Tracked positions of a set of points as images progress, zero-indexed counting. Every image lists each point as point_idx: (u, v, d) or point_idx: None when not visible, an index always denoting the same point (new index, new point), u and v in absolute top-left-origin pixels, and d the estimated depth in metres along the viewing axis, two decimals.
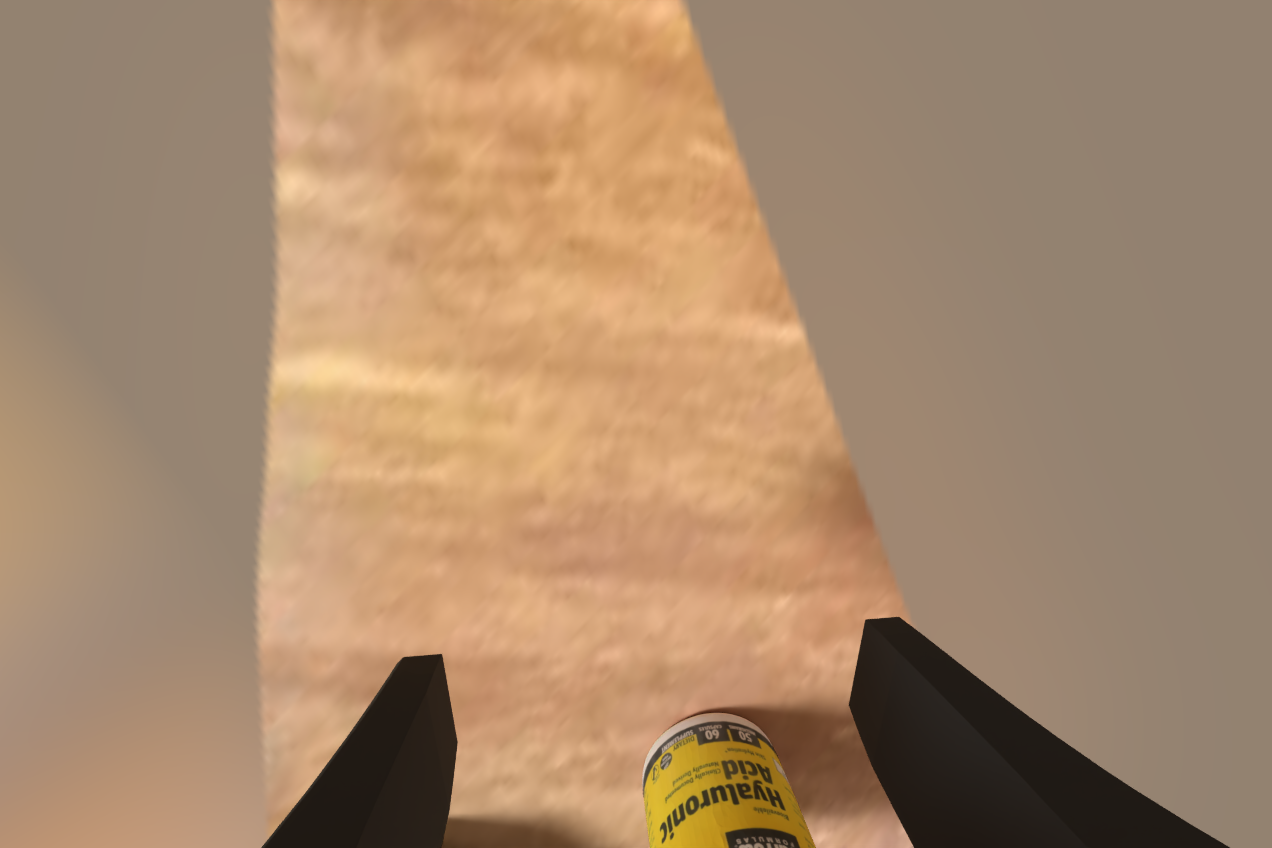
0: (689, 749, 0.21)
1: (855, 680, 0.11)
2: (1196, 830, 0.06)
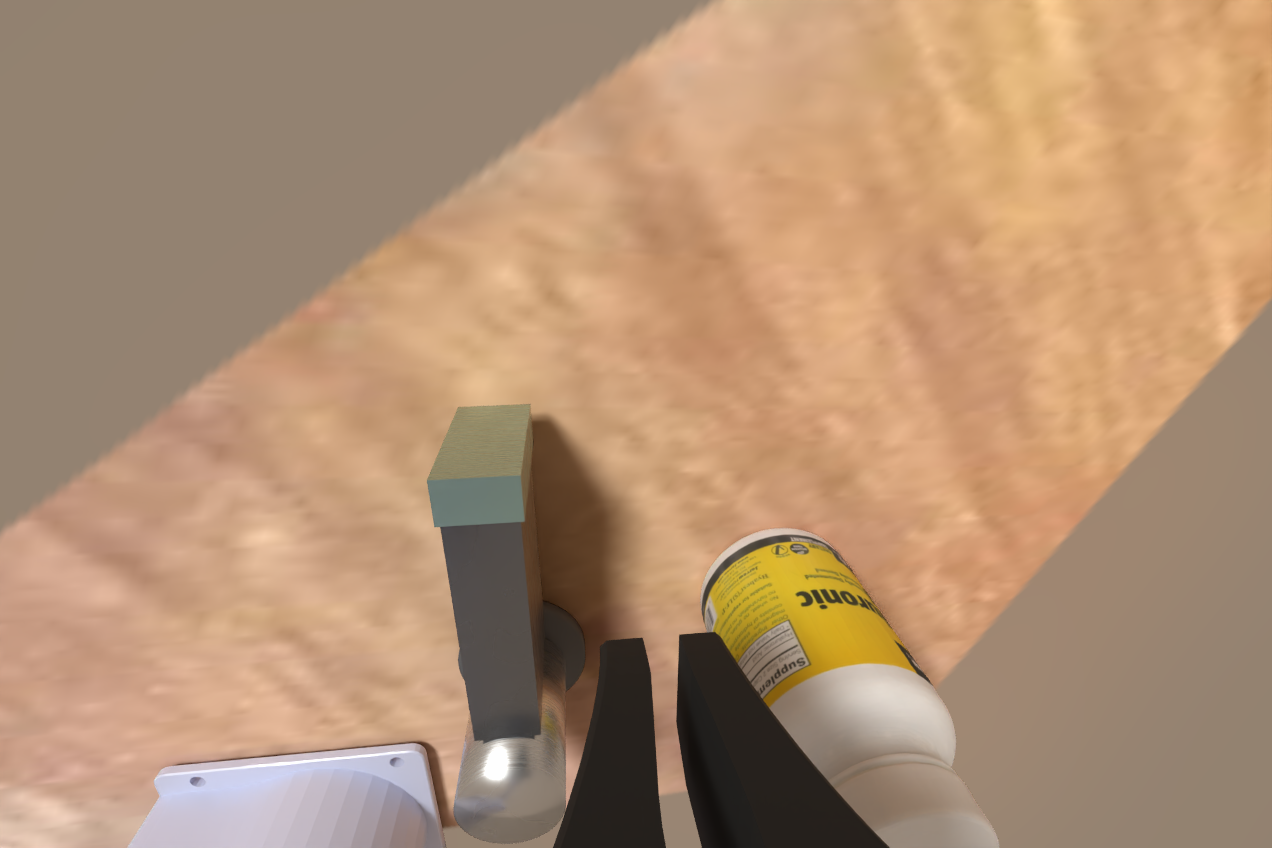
0: (829, 557, 0.19)
1: (677, 696, 0.10)
2: None
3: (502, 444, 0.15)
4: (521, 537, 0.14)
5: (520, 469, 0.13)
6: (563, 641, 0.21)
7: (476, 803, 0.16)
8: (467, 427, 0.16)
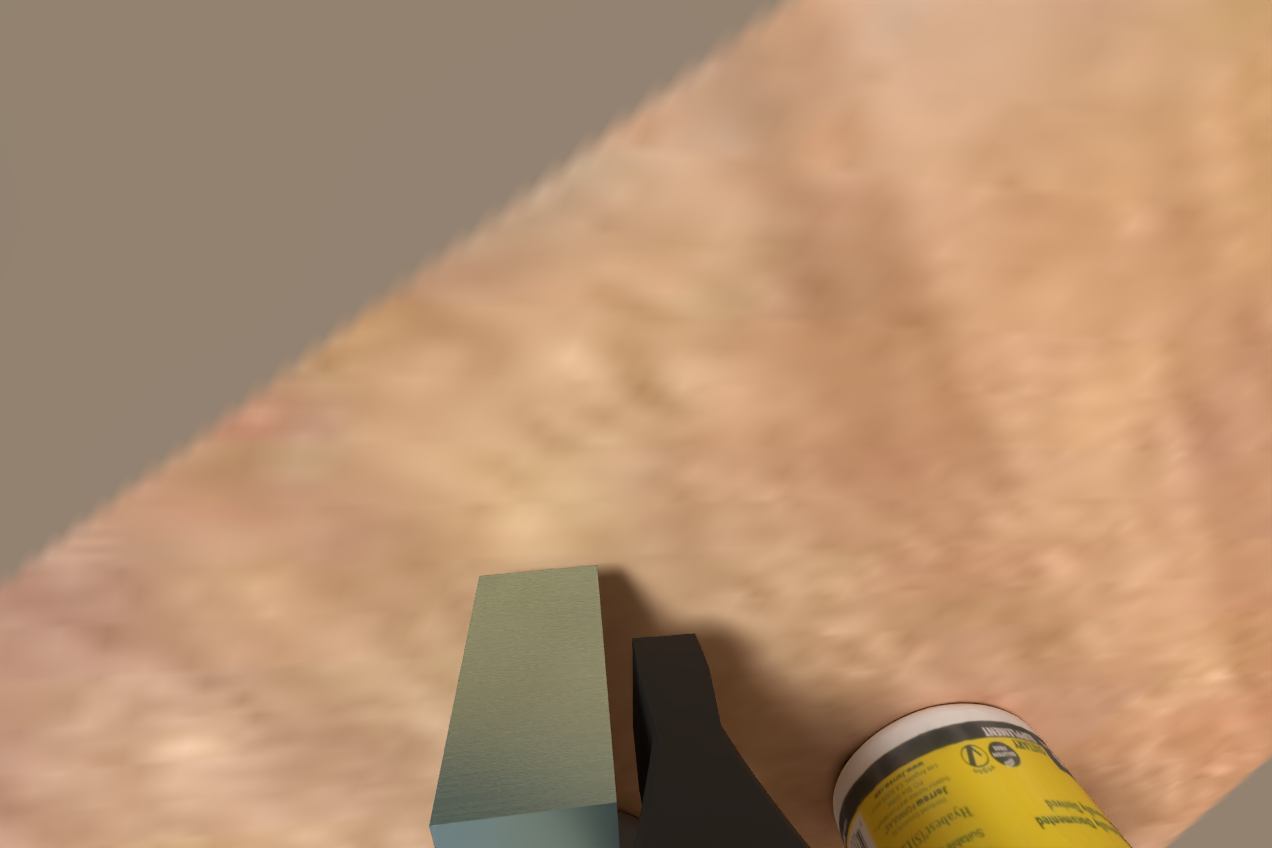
0: (1049, 765, 0.13)
1: (633, 700, 0.10)
2: None
3: (566, 689, 0.08)
4: None
5: (612, 777, 0.07)
6: None
7: None
8: (498, 634, 0.09)
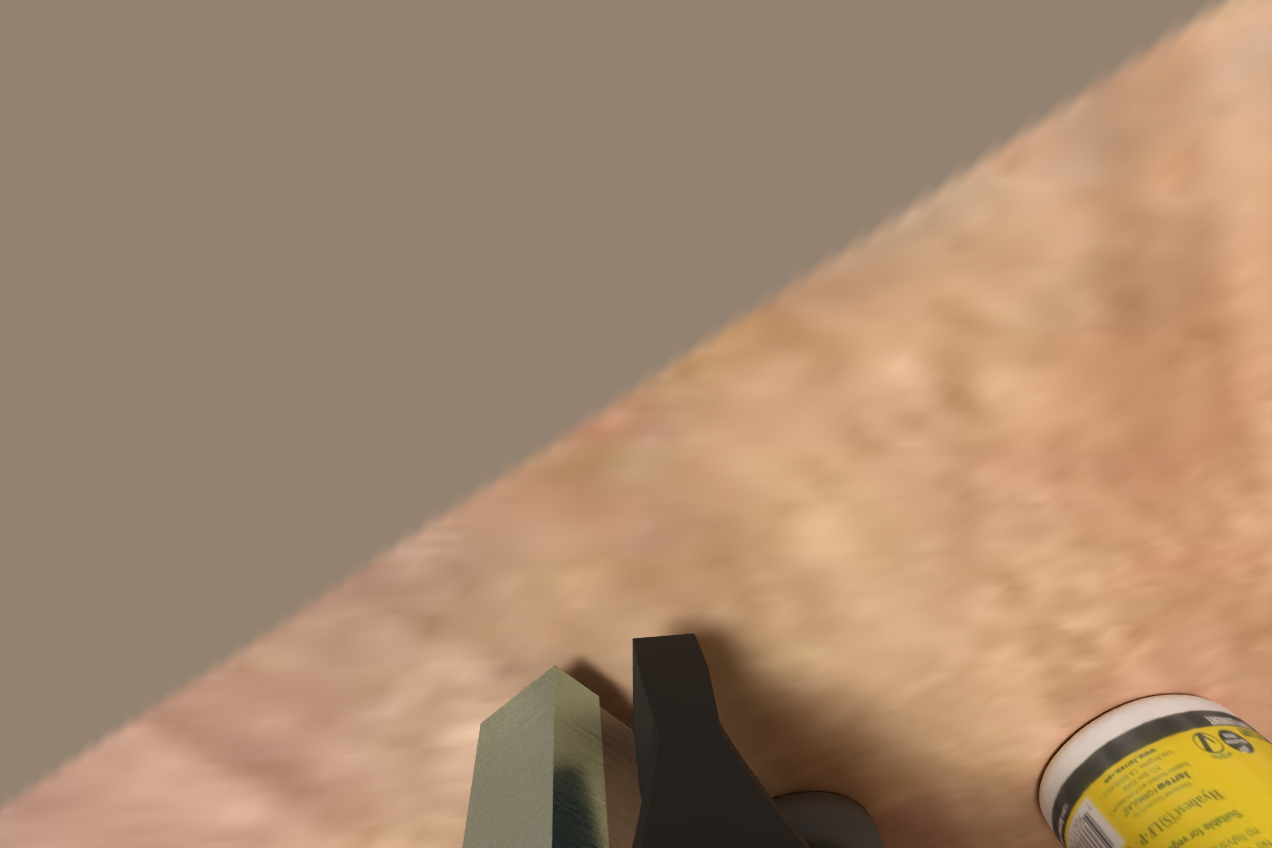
0: None
1: (633, 700, 0.10)
2: None
3: (526, 819, 0.09)
4: None
5: None
6: None
7: None
8: (488, 781, 0.10)
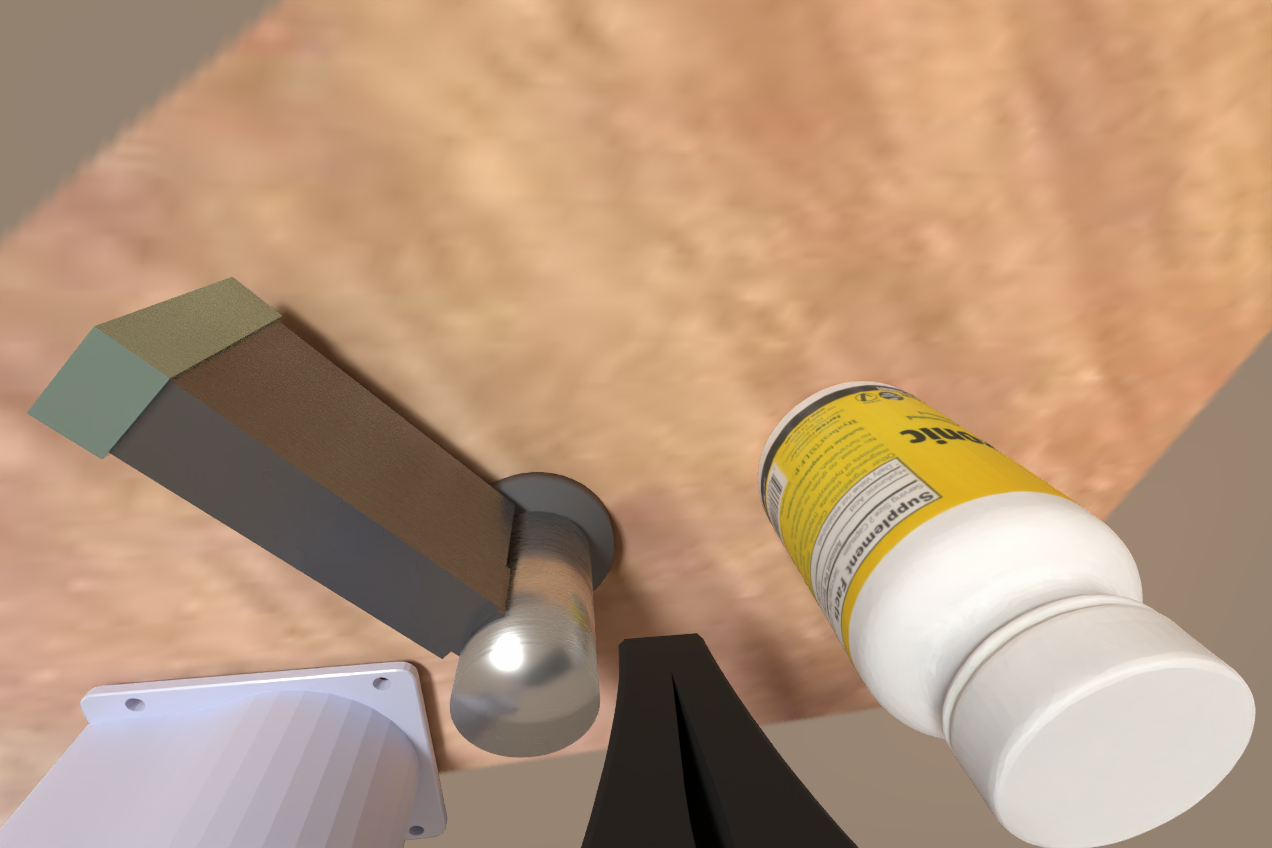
0: (929, 406, 0.15)
1: None
2: None
3: None
4: (199, 401, 0.10)
5: (107, 322, 0.09)
6: (588, 526, 0.17)
7: (483, 722, 0.12)
8: None
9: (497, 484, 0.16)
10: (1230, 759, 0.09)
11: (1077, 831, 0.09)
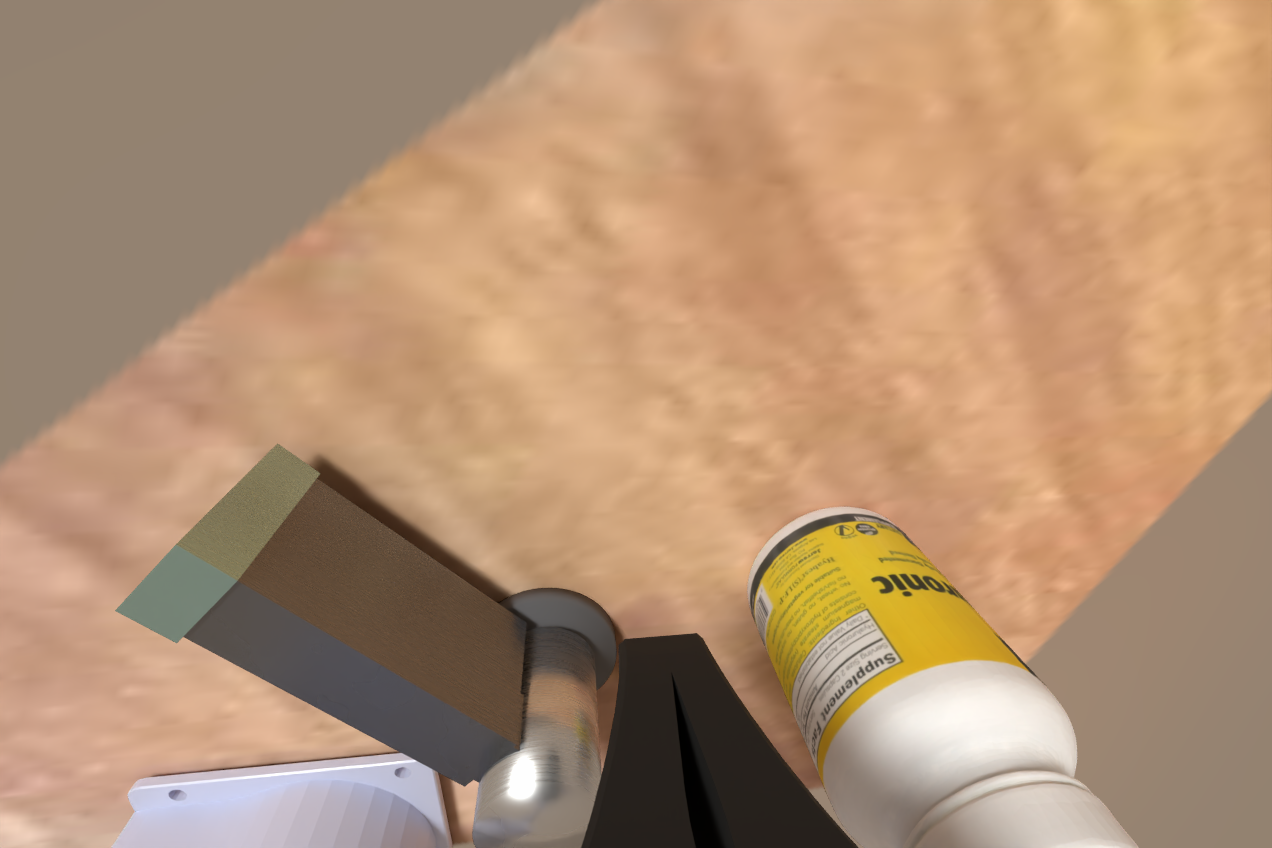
0: (901, 538, 0.17)
1: None
2: None
3: None
4: (261, 594, 0.12)
5: (185, 536, 0.11)
6: (592, 636, 0.18)
7: (502, 846, 0.14)
8: None
9: (510, 600, 0.18)
10: None
11: None
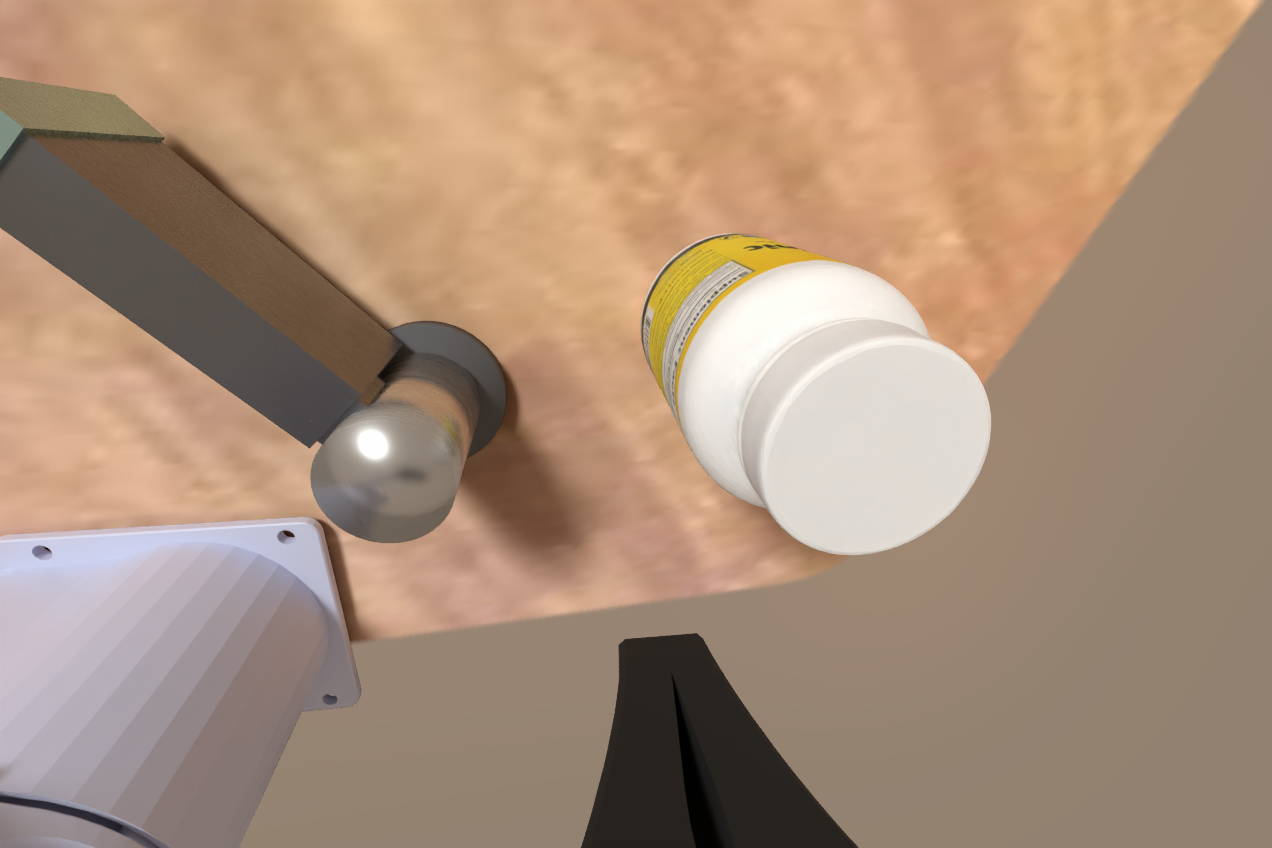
0: None
1: None
2: None
3: None
4: (54, 156, 0.11)
5: None
6: (478, 374, 0.18)
7: (345, 501, 0.13)
8: None
9: (389, 330, 0.17)
10: (976, 459, 0.10)
11: (848, 533, 0.10)
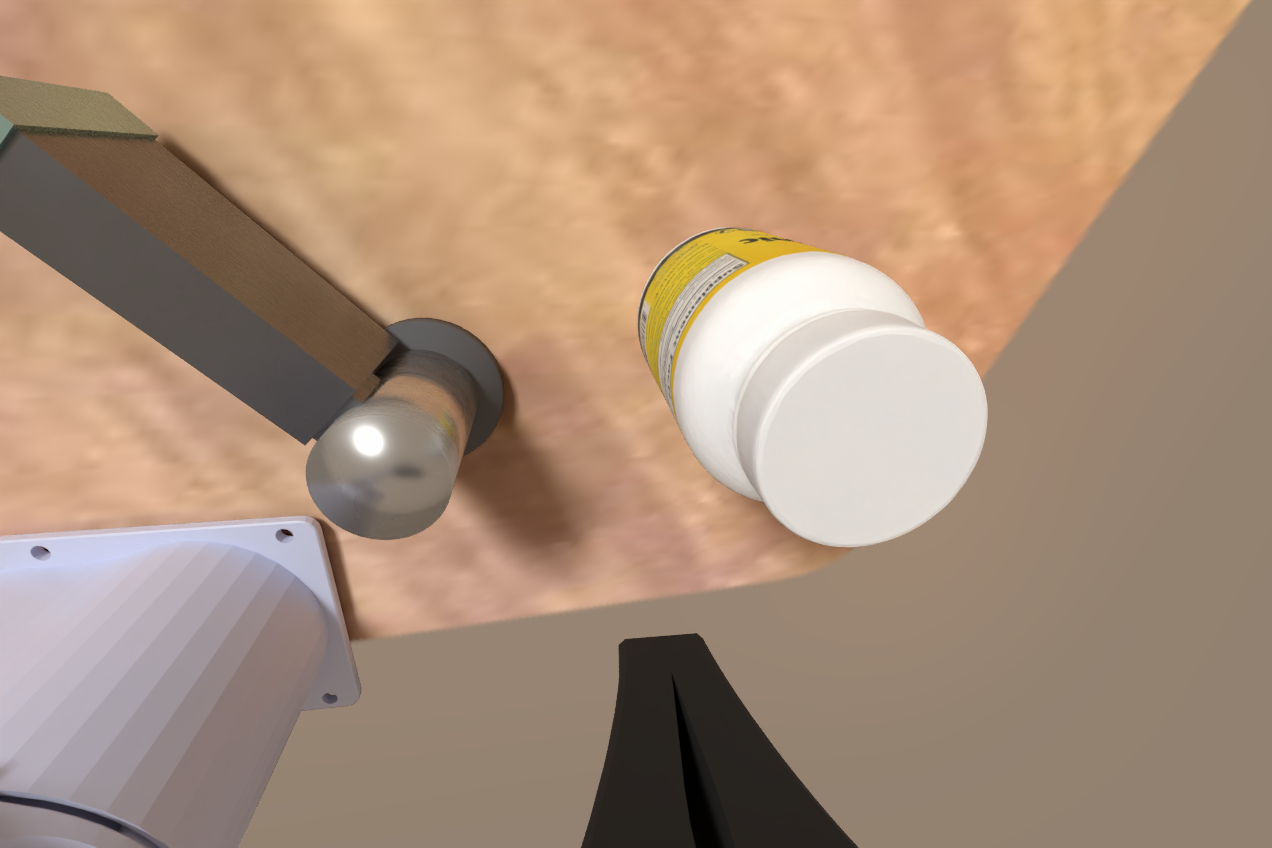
0: None
1: None
2: None
3: None
4: (45, 153, 0.11)
5: None
6: (474, 370, 0.18)
7: (341, 498, 0.13)
8: None
9: (385, 328, 0.17)
10: (973, 449, 0.10)
11: (844, 524, 0.10)
